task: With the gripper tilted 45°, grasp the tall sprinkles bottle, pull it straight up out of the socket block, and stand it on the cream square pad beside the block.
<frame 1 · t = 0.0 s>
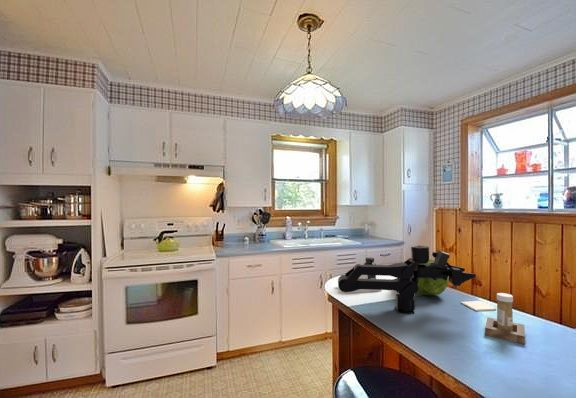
hand: (469, 272, 117), 17 cm above the worktop, tool horizontal, fingers open, 9 cm apart
supplement bottle: (369, 279, 168), on the worktop
lettuce: (421, 293, 143), on the worktop
sprinkles bottle: (504, 334, 100), resting in socket block
socket block: (504, 333, 100), on the worktop
bracket: (360, 289, 150), on the worktop
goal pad: (477, 306, 125), on the worktop
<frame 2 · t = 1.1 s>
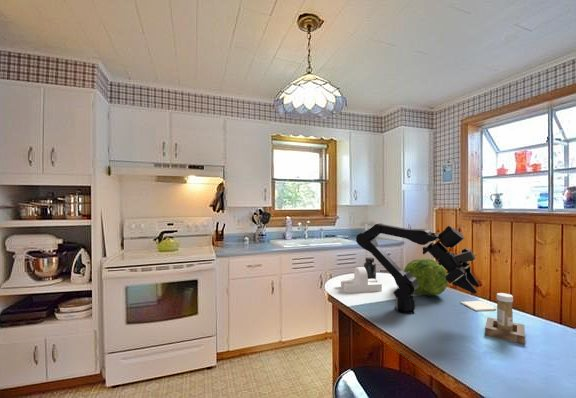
hand: (477, 289, 105), 14 cm above the worktop, tool tilted 45°, fingers open, 9 cm apart
nothing on the worktop moved.
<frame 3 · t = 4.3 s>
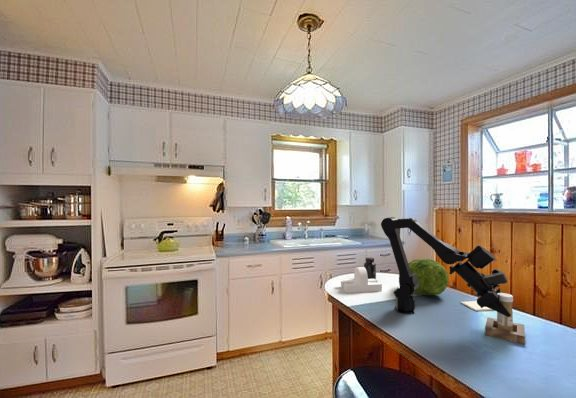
hand: (509, 313, 99), 7 cm above the worktop, tool tilted 45°, fingers closed on sprinkles bottle, 4 cm apart
sprinkles bottle: (504, 334, 100), resting in socket block, touching gripper
everything else where it was.
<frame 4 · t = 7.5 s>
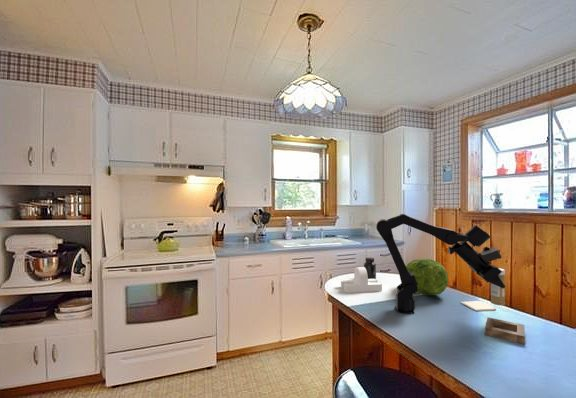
hand: (501, 285, 111), 13 cm above the worktop, tool tilted 45°, fingers closed on sprinkles bottle, 4 cm apart
sprinkles bottle: (497, 304, 111), point 6 cm above the worktop, touching gripper
everything else where it was.
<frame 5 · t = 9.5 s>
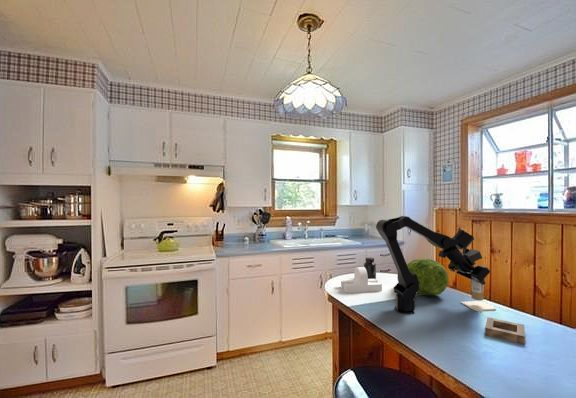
hand: (480, 282, 125), 10 cm above the worktop, tool tilted 45°, fingers closed on sprinkles bottle, 4 cm apart
sprinkles bottle: (477, 299, 125), point 3 cm above the worktop, touching gripper
everything else where it was.
when the fingers open (8 cm above the worktop, at t = 10.8 s): sprinkles bottle stays where it is, resting on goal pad.
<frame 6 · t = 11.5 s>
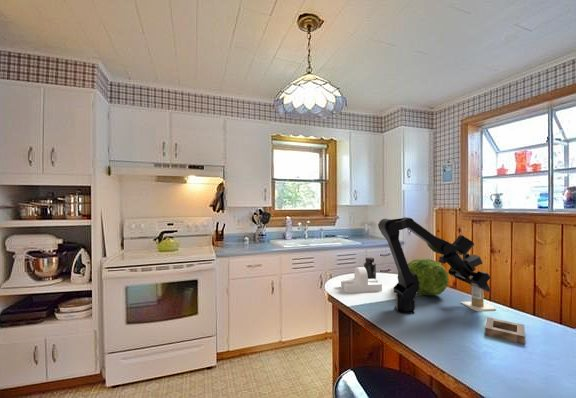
hand: (480, 287, 125), 8 cm above the worktop, tool tilted 45°, fingers open, 9 cm apart
sprinkles bottle: (477, 305, 125), resting on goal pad
everything else where it was.
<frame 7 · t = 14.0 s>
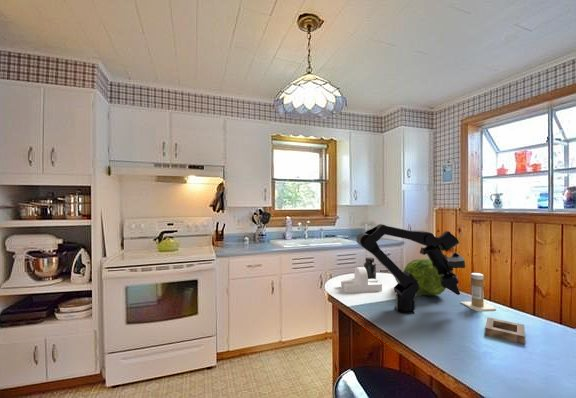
hand: (457, 288, 122), 9 cm above the worktop, tool tilted 35°, fingers open, 9 cm apart
nothing on the worktop moved.
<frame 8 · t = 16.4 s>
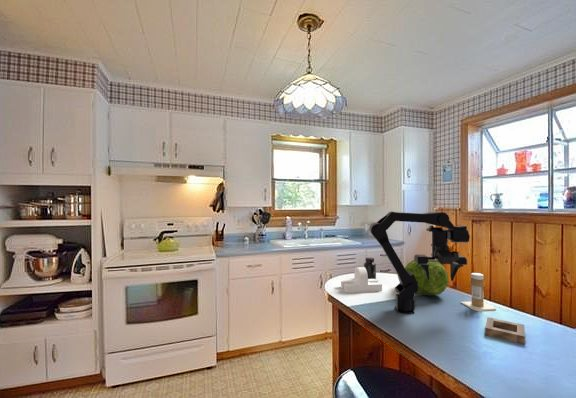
hand: (440, 280, 119), 13 cm above the worktop, tool pointing down, fingers open, 9 cm apart
nothing on the worktop moved.
at the end: sprinkles bottle 0.2 cm off-centre on the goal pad, point 0.4 cm above the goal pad's base; sprinkles bottle tilted 0°; the gripper is holding nothing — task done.
